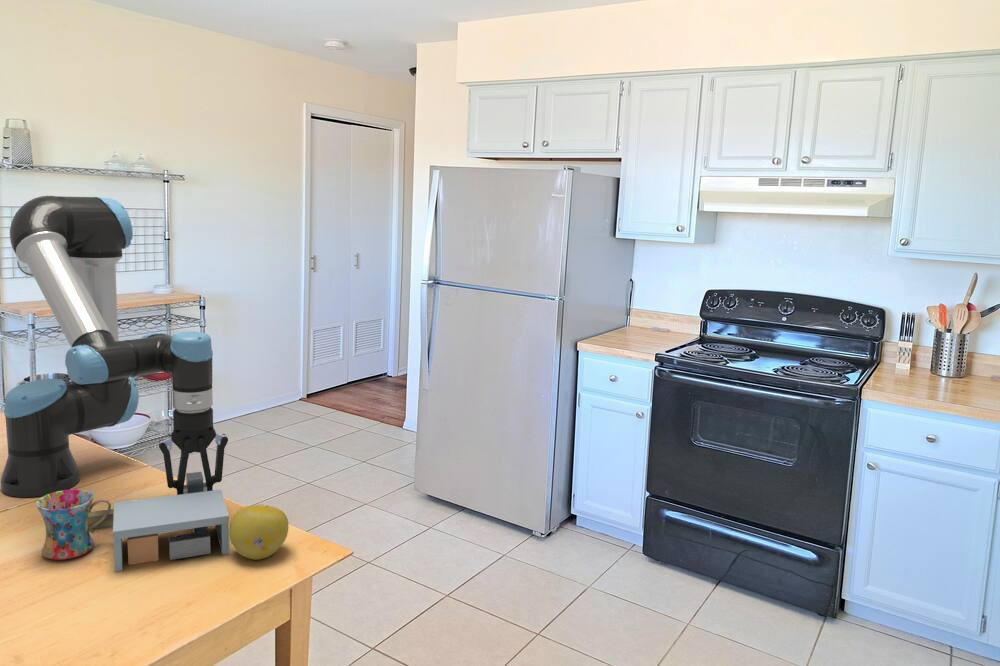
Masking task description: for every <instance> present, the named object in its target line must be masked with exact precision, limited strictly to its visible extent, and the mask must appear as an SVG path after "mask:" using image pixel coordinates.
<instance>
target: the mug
mask: <svg viewBox="0 0 1000 666" xmlns="http://www.w3.org/2000/svg"><path fill="white" fill-rule="evenodd" d="M94 499H95V494H94V492H92V491H90V490H87V489H80V488H79V489H78V488H75V489H74V488H71V489H70V488H69V489H67V490H62V491H57V492H53V493H50V494H48V495H44V496H40V498H38V500H36V502H35V506H36V508H37V510H38V511H39V512H40V514H41V517H42V519H43V522H44V526H45V533H46V534H45V541H44V543H43V547H42V549H41V555H42V556H43V557H44V558H46V559H48V560H49V559H50V560H55V561H57V560H58V561H59V560H61V561H62V560H69V559H75V558H78V557H80V556H83V555H84V554H86V553H88V552H89V551H90V550H92V548H93V547H94V545H95V541H94V539H93V538H92V537H91V534H94V533H95V532H94V531H95V530H91V529H92V528H94V527H95V526H97V525H98V524H100V523H101V522H102V521H103V520H104V519H105V518H106V516H107V515H108V513H109V511H110V509H112V508H111V507H112V506H111V502H110V501H109V500H108V499H104V498H103V499H97V500H95V501H94ZM99 503H106V504H107V506H108V508H107V509H106V510H107V512H106V513H105V515H104V516H103V517H102V518H101V519H100V520H99V521H98V522H96V523H95V524H93V525H92V526H90V527H89V528H88V514H89V513H90V512H92V509H93V507H94V506H95V505H97V504H99ZM90 533H91V534H90Z"/></svg>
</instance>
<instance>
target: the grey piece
mask: <svg viewBox="0 0 1000 666" xmlns="http://www.w3.org/2000/svg"><path fill="white" fill-rule="evenodd" d="M185 483H186V484H185V485H187V490H188V494H189V493H197V492H204V490H203V483H204V476H203V473H202V471H196V472H195V471H194V472H186V476H185ZM168 550H169V551H168V552H169V553H168V554H169V555H168V556H169V560H170V561H173V560H178V559H184V558H190V557H197V556H202V555H203V556H204V555H210V554H211V534H210V531H209V528H208V526H206V527H199V528H192V529H191V532H190V533H185V534H180V535H171V536H168Z"/></svg>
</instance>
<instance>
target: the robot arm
mask: <svg viewBox="0 0 1000 666" xmlns="http://www.w3.org/2000/svg"><path fill="white" fill-rule="evenodd" d="M133 238H134V237H133V225H132V221H131V217H130V215H129V213H128V211H127V210H126V209H125V206H124V205H123V204H122V203H121V202H119V201H118V200H116V199H113V198H108V197H101V196H100V197H99V196H63V195H62V196H59V195H58V196H57V195H40V196H38V197H34V198H32V199H30V200H28V201H27V202H25V203H24V204H22V206H20V208H19V209H18V210H17V211H16V212H15V214H14V215H13V217H12V220H11V223H10V228H9V240H10V244H11V247H12V250H13V251H14V254H15V255H16V258H17V259H18V260H19V262H22V263H23V264H25V265H27V266H28V268H29V270H30V273H31V274H32V276H33V278H34V280H35V282H36V283H37V285H38V287H39V289H40V291H41V293H42V295H43V296H44V299H45V301H46V302H47V304H48V306H49V308H50V310H51V312H52V314H53V315H54V318H55V319H56V322H57V323H58V325H59V328H60V329H61V330H62V333H63V334H64V337H65V338H66V340H67V342H68V345H69V346H70V348H69V349H68V350H67V351H66V353H65V356H64V357H65V358H64V359H65V360H64V364H65V368H66V373H67V375H68V377H69V379H70V380H71V381H70V383H66V382H65V380H63V379H60V378H47V379H43V378H42V379H41V378H40V379H37V380H31V381H28V382H23V383H22V384H18V385H16V386H15V387H13V388H11V389H10V390H9V391H8V392H7V393H6V394H5V397H4V410H3V411H4V412H3V414H4V416H5V418H4V419H5V425H6V426H5V427H6V429H5V430H6V443H7V459H6V462H5V465H4V469H3V472H2V475H1V477H0V491H1V492H2V493H3V494H4V493H5V494H4V495H6V494H7V496H10V497H14V496H15V497H14V498H36V497H43V496H45V495H48V494H50V493H53V492H57V491H62V490H70V488H71V489H72V488H73V487H75V486H76V485H77V484H78V483H79V482H80V480H81V479H80V477H81V476H80V468H79V466H78V464H77V461H76V460H75V457H74V455H73V454H72V451H71V449H70V440H69V439H70V436H71V435H73V434H78V433H82V432H83V433H84V432H88V431H89V432H90V431H93V430H97V429H103V428H110V427H115V426H116V425H119V424H123V423H126V422H128V421H130V420H131V419H132V418H133V416H134V415H135V414H136V411H137V409H138V406H139V405H138V404H139V395H140V394H139V388H138V387H137V382H136V380H135V378H136V377H141V376H147V375H152V374H153V375H154V374H158V373H164V374H168V375H171V382H172V384H171V385H172V389H171V390H172V408H173V409H174V410H173V411H172V419H173V420H172V421H173V422H172V423H173V425H172V427H173V428H172V429H173V430H172V433H170V436H169V437H167V438H165V439H160V440H159V441H158V448H159V450H160V451H161V453H162V455H163V462H164V469H165V476H166V482H167V488H168V489H175V490H176V495H180V494H188V490H187V485H186V484H185V483H186V473H187V468H188V461H189V456H190V454H192V453H200V454H199V455H200V460H201V464H202V470H203V474H204V480H205V482H203V490H204V492H205V491H213V487H214V485H215V484H217V483H220V482H222V481H223V473H224V472H223V469H224V458H225V448H226V446H227V445H228V443H229V438H228V436H227V434H226V433H217V431H216V430H215V428H214V409H213V407H212V406H213V403H214V402H213V400H214V399H213V397H214V396H213V394H214V393H213V355H214V353H213V352H214V351H213V347H212V339H211V335H209V334H208V333H206V332H203V331H202V332H201V331H182V332H177V333H175V334H174V333H173V335H170V334H166V333H162V332H160V333H159V332H149V333H146V334H145V335H143V336H142V337H140V338H133V339H123V340H119V326H118V325H119V324H118V323H119V322H118V320H119V319H118V318H119V317H118V297H117V273H116V270H117V269H116V266H117V263H118V262H119V261H120V260H121V259H123V250H125V249H127V248H128V247H130V246H131V244H132V240H133ZM134 377H135V378H134ZM213 441H214V442H215V444H216V452H215V454H216V455H215V466H214V475H212V472H211V467H210V463H209V462H210V461H209V457H208V452H207V449H208V447H209V446H210V445H211V444H212V442H213ZM173 443H174V445H176V447H177V448H178V449H179V450H180V457H179V458H180V459H179V463H178V469H177V470H178V472H177V477H176V479H174V473H173V465H172V459H171V452H170V450H171V449H172V448H173V446H172V444H173Z"/></svg>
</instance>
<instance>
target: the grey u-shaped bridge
mask: <svg viewBox="0 0 1000 666" xmlns="http://www.w3.org/2000/svg"><path fill="white" fill-rule="evenodd" d="M113 509H114V519H113V528H112V537H113V539H112V540H113V556H114V557H113V559H114V562H113V563H114V572H115V573H117V572H122V571H123V552H124V551H123V544H124V543H123V542H124V541H123V539H128V538H129V537H136V536H143V535H150V534H157V533H158V534H163V533H168V532H170V533H171V532H177V531H182V530H183V531H184V530H190V529H191V530H192V528H199V527H206V526H207V527H212V526H215V531H216V535H217V538H218V542H219V546H220V550H221V554H222V555H228V554H230V541H229V539H230V535H229V527H230V515H229V512H228V508H227V505H226V502H225V499H224V494H223V492H222V489H214V490H213V491H205V492H197V493H189V494H180V495H177V494H174V495H167V496H158V497H157V496H156V497H148V498H140V499H132V500H126V501H125V500H123V501H117V502H113Z"/></svg>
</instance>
